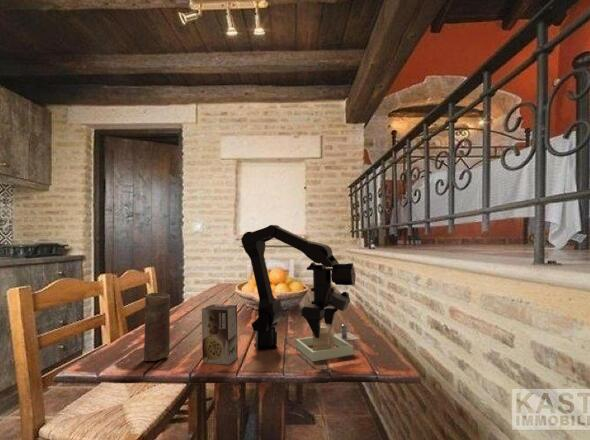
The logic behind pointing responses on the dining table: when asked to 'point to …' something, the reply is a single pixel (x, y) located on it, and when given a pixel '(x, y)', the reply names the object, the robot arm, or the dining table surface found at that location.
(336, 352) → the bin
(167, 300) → the candle
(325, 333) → the tan rectangular block
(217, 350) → the coffee box
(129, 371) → the dining table surface
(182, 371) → the dining table surface
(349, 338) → the stud block
